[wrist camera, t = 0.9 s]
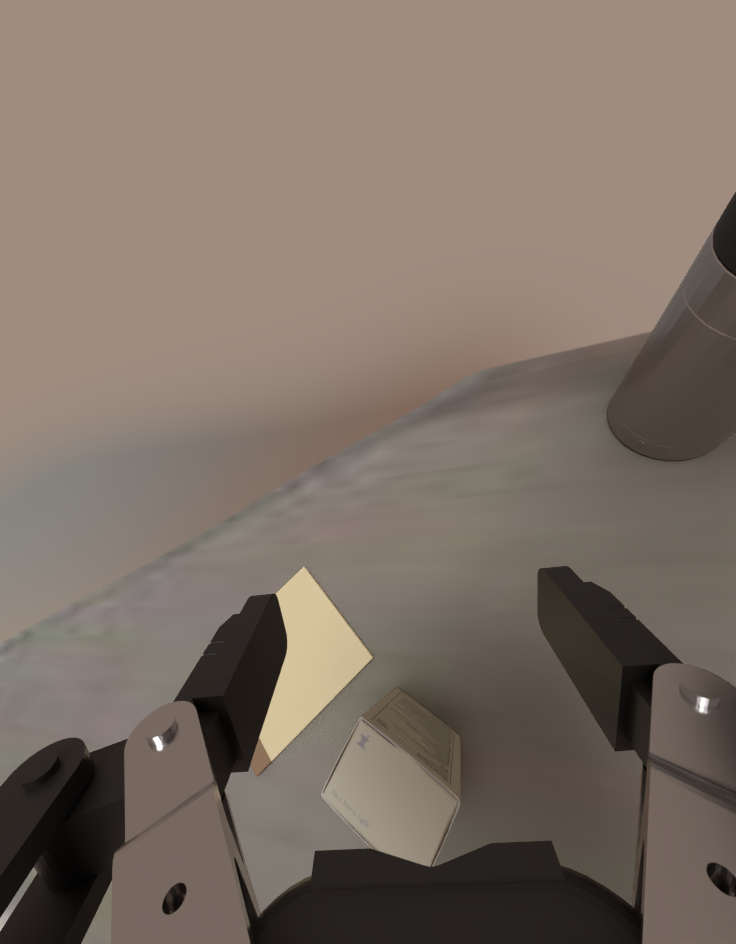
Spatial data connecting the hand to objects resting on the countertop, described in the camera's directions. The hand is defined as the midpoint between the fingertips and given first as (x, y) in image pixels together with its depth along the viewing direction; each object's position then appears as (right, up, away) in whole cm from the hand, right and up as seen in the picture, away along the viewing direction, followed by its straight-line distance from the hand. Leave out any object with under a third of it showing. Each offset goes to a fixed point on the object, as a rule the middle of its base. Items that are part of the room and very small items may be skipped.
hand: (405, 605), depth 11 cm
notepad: (-8, -13, +22) cm, 27 cm away
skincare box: (+3, -17, +18) cm, 25 cm away
